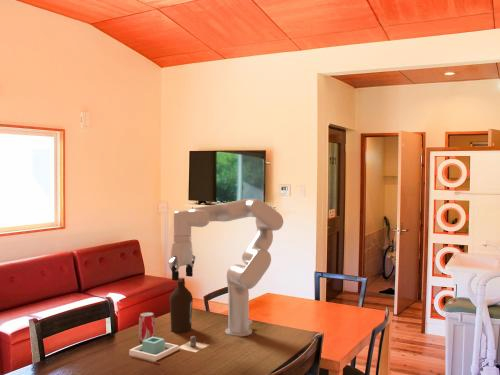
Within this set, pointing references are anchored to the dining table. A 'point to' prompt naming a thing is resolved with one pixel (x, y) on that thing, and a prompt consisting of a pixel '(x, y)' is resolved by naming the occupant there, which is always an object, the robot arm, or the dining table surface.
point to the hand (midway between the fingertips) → (182, 278)
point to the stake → (193, 345)
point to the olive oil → (181, 308)
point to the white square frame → (151, 357)
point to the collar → (153, 345)
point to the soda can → (146, 326)
